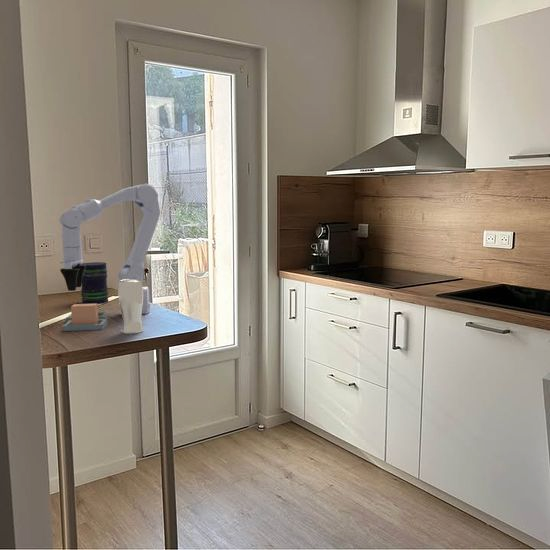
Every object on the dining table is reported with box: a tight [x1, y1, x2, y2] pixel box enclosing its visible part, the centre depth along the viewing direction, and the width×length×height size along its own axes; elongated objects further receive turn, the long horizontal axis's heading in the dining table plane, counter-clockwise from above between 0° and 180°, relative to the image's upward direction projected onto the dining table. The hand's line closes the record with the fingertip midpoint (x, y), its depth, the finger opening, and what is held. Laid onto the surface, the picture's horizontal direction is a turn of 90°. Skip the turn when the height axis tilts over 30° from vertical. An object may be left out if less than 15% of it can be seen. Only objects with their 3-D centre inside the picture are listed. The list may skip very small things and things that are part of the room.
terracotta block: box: [70, 303, 99, 325], centre depth 169 cm, size 7×4×7 cm, turn 97°
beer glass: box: [117, 279, 144, 335], centre depth 161 cm, size 7×7×15 cm
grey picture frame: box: [62, 318, 109, 332], centre depth 169 cm, size 12×8×2 cm
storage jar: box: [80, 261, 109, 305], centre depth 213 cm, size 10×10×15 cm
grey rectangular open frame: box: [65, 311, 109, 323], centre depth 181 cm, size 12×8×2 cm
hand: (74, 288), depth 181 cm, fingers open, 7 cm apart
